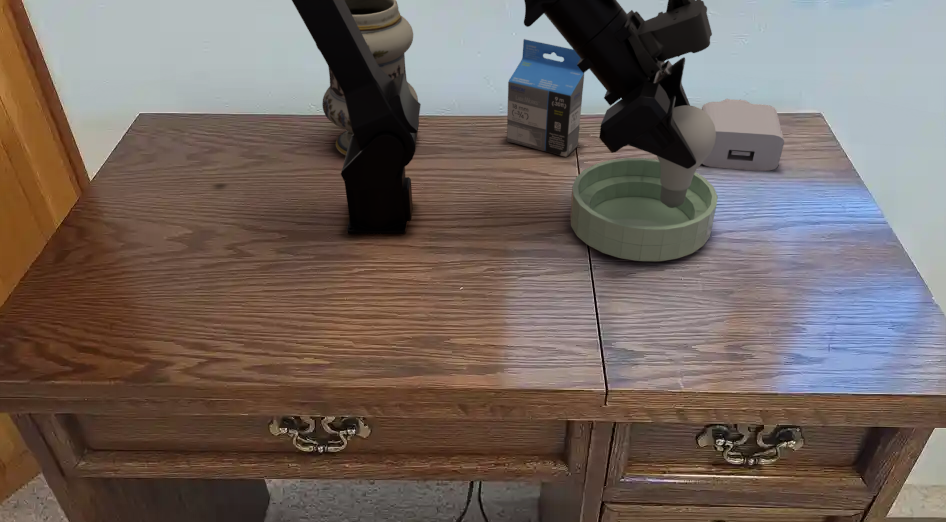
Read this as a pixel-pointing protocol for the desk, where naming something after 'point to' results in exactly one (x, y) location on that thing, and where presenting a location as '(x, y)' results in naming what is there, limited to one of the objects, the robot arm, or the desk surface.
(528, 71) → the blue grey carton
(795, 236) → the desk surface
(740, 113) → the charger
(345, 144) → the apothecary jar
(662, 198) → the lightbulb
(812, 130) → the desk surface
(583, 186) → the bowl
